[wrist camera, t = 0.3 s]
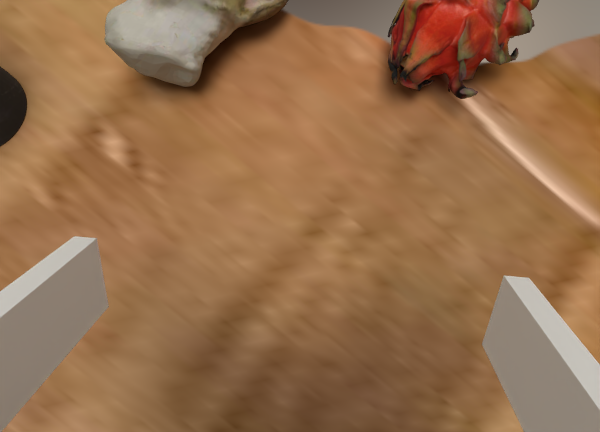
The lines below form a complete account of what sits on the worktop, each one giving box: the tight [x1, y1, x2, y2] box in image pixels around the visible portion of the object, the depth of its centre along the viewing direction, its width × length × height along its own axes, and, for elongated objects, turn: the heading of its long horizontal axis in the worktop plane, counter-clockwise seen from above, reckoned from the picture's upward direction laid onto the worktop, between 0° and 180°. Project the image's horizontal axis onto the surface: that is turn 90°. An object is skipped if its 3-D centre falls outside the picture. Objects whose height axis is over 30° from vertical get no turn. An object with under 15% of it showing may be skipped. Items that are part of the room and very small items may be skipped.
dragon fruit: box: [388, 0, 539, 99], centre depth 28 cm, size 8×8×12 cm
